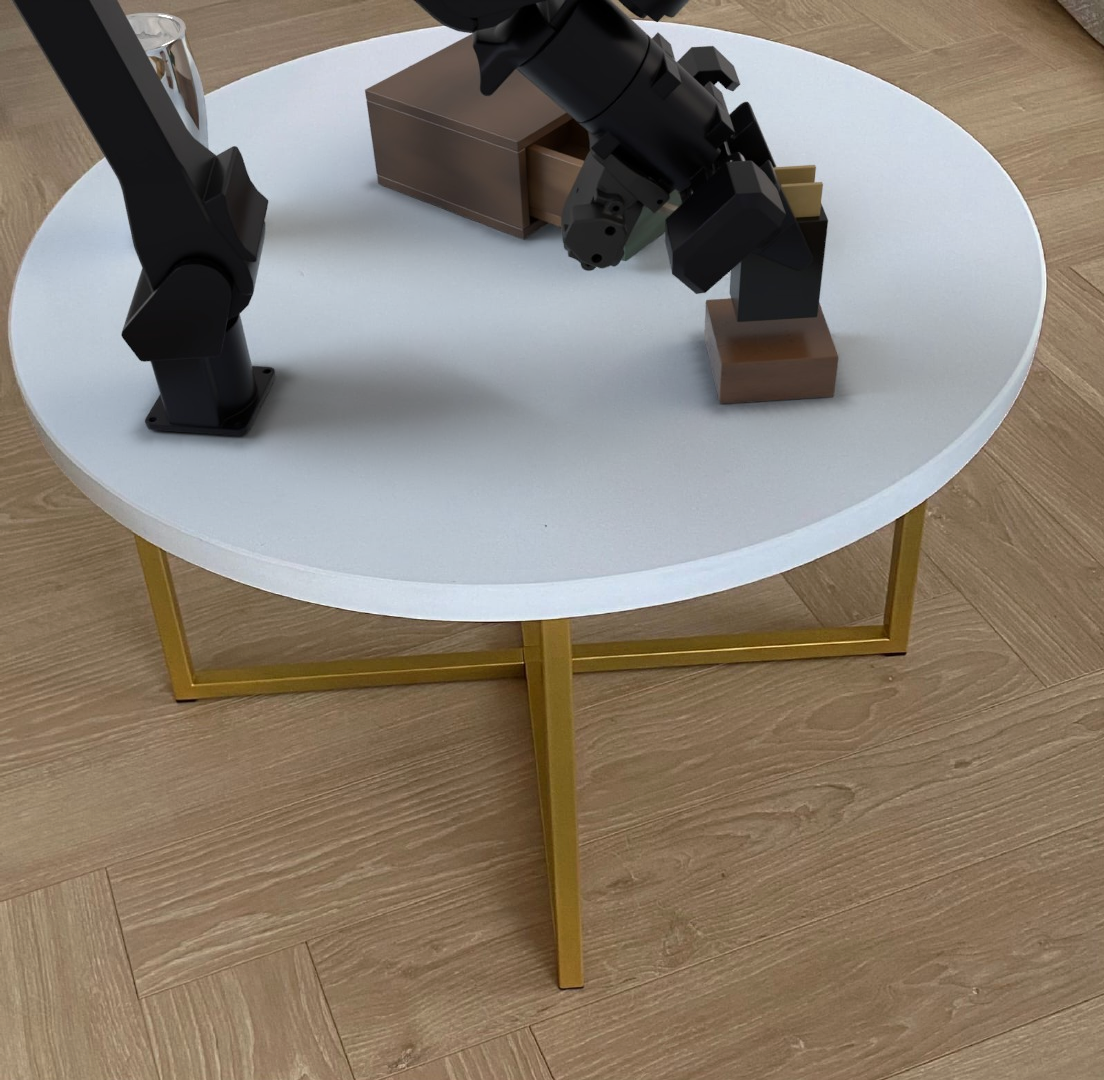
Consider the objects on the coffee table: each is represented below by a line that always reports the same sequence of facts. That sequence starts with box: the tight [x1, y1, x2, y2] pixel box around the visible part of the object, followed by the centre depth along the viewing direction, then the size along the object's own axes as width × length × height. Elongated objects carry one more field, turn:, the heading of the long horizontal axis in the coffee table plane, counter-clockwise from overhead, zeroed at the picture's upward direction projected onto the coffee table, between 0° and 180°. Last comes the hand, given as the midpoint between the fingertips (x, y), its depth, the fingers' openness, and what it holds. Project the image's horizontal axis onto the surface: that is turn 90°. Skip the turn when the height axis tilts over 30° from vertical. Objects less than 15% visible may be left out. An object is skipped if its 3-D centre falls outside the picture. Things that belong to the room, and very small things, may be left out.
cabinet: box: [364, 33, 573, 240], centre depth 102 cm, size 15×13×8 cm
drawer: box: [525, 118, 682, 262], centre depth 96 cm, size 18×11×6 cm, turn 51°
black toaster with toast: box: [729, 164, 829, 322], centre depth 79 cm, size 3×5×8 cm
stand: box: [703, 297, 839, 405], centre depth 84 cm, size 7×7×3 cm
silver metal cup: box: [125, 12, 210, 150], centre depth 95 cm, size 7×7×15 cm
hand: (800, 248), depth 79 cm, fingers closed on black toaster with toast, 3 cm apart
